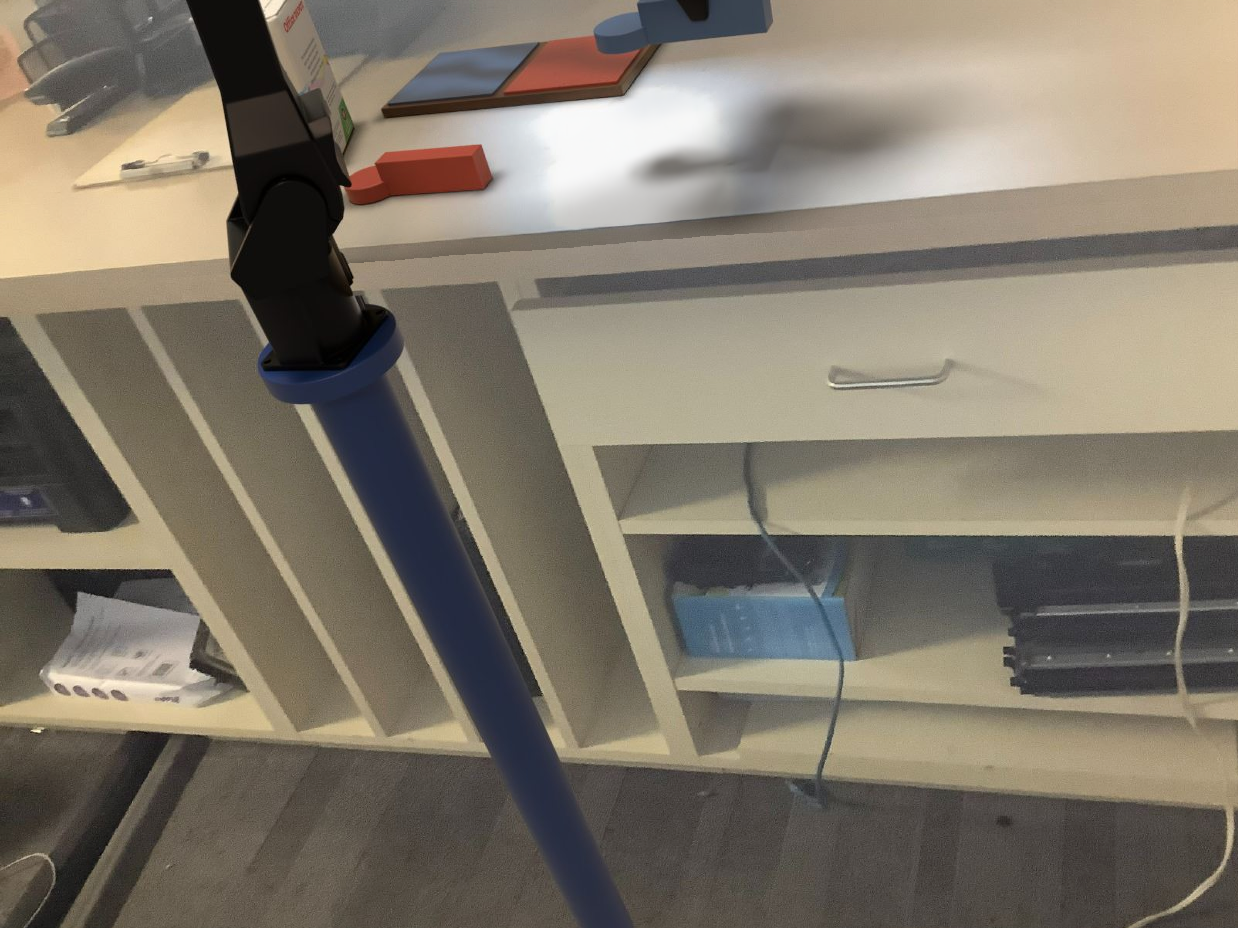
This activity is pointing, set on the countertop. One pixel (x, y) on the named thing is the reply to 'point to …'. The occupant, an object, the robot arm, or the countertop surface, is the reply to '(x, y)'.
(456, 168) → the red stepped handle block
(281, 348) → the robot arm
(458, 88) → the sorting board
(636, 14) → the blue rounded tab block
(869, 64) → the countertop surface
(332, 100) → the ink box
